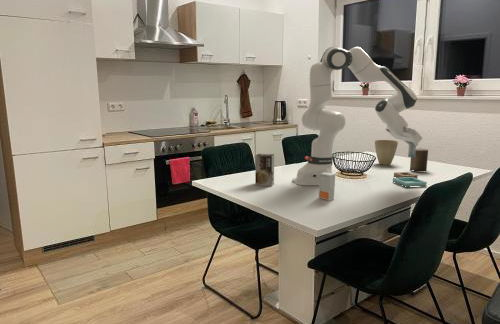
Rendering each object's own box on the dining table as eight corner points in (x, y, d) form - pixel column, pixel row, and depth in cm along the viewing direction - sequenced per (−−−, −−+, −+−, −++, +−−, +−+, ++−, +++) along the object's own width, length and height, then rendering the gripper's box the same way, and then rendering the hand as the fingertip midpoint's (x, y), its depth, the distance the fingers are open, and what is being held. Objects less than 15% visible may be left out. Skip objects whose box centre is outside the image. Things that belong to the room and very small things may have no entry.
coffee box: (274, 183, 208) (274, 154, 205) (271, 186, 202) (272, 156, 199) (257, 182, 210) (258, 153, 207) (254, 185, 204) (255, 155, 201)
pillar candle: (427, 172, 237) (429, 148, 234) (410, 171, 240) (412, 147, 237) (425, 170, 246) (427, 146, 243) (409, 168, 249) (411, 145, 246)
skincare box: (318, 198, 181) (319, 173, 178) (323, 196, 184) (324, 171, 181) (329, 200, 176) (330, 175, 174) (334, 199, 179) (335, 173, 177)
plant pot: (380, 161, 273) (382, 139, 270) (400, 164, 262) (402, 141, 259) (368, 164, 264) (370, 140, 261) (388, 167, 252) (390, 143, 249)
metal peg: (410, 157, 203) (412, 134, 200) (406, 156, 206) (408, 133, 204) (416, 157, 203) (418, 134, 201) (412, 156, 207) (414, 133, 204)
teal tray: (406, 187, 200) (406, 183, 200) (392, 182, 212) (393, 178, 211) (426, 186, 203) (426, 182, 202) (411, 181, 214) (412, 177, 214)
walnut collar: (403, 181, 215) (403, 175, 214) (393, 177, 223) (394, 172, 223) (417, 180, 217) (417, 175, 216) (407, 176, 225) (407, 171, 225)
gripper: (415, 124, 190) (431, 143, 194) (391, 120, 209) (405, 138, 213) (406, 133, 189) (422, 152, 194) (383, 129, 209) (398, 146, 213)
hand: (413, 144), depth 204 cm, fingers closed on metal peg, 3 cm apart
